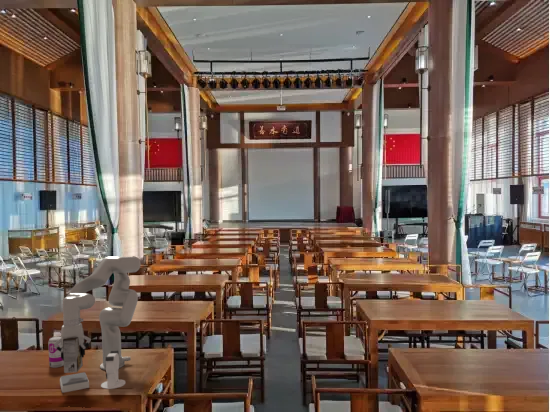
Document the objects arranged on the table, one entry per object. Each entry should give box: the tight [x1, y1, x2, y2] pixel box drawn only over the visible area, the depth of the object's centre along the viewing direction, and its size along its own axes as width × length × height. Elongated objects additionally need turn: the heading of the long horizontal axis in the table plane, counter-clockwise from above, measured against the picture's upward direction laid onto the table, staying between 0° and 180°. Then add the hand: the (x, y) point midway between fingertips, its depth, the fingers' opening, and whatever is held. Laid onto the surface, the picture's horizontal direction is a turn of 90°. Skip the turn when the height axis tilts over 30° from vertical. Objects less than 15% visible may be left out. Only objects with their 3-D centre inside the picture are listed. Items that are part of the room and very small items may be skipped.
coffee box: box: [63, 337, 83, 374], centre depth 243 cm, size 9×6×16 cm
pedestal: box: [59, 371, 90, 393], centre depth 244 cm, size 12×12×4 cm
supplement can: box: [47, 335, 64, 369], centre depth 275 cm, size 8×8×15 cm
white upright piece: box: [100, 351, 126, 390], centre depth 245 cm, size 12×11×15 cm
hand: (73, 358), depth 243 cm, fingers closed on coffee box, 8 cm apart
